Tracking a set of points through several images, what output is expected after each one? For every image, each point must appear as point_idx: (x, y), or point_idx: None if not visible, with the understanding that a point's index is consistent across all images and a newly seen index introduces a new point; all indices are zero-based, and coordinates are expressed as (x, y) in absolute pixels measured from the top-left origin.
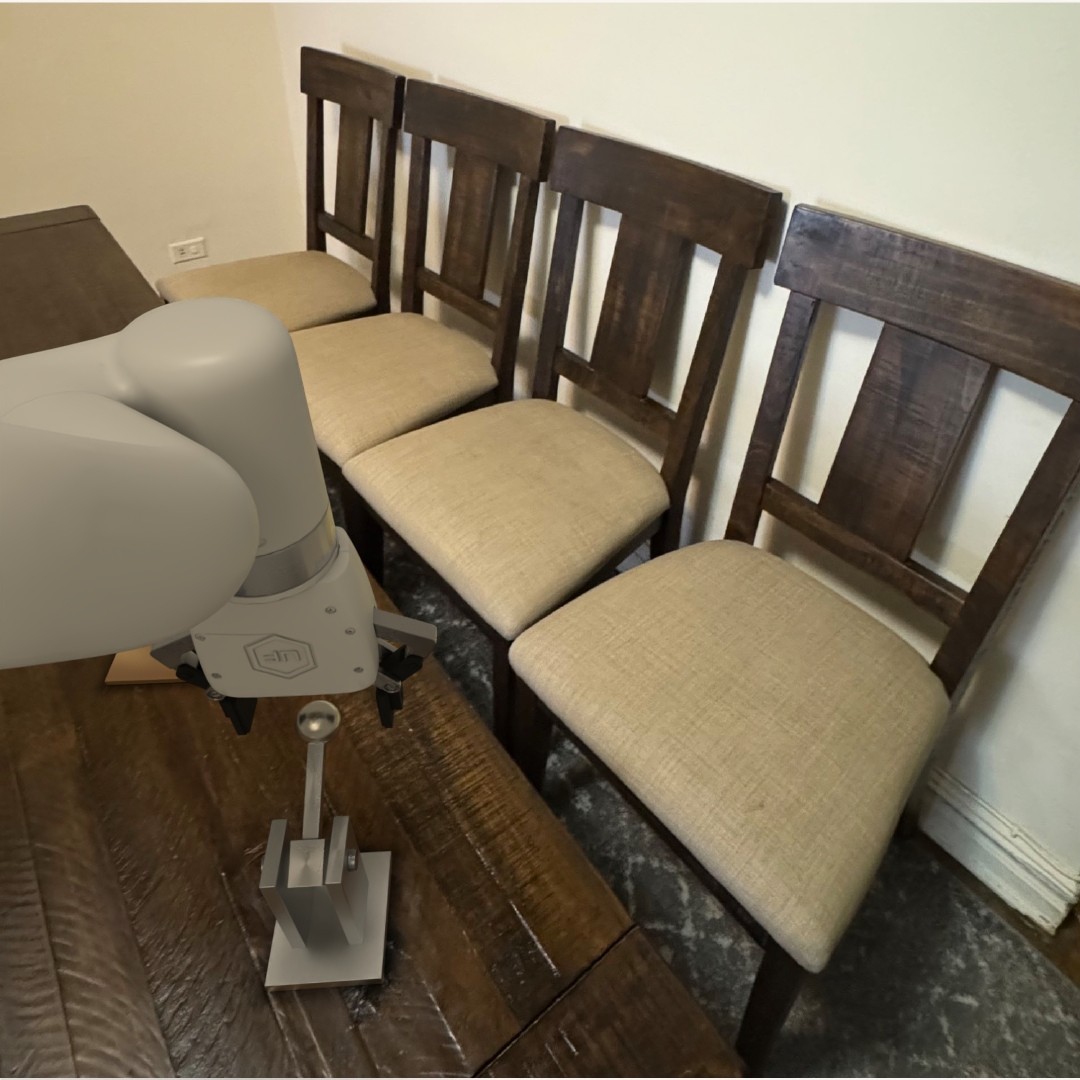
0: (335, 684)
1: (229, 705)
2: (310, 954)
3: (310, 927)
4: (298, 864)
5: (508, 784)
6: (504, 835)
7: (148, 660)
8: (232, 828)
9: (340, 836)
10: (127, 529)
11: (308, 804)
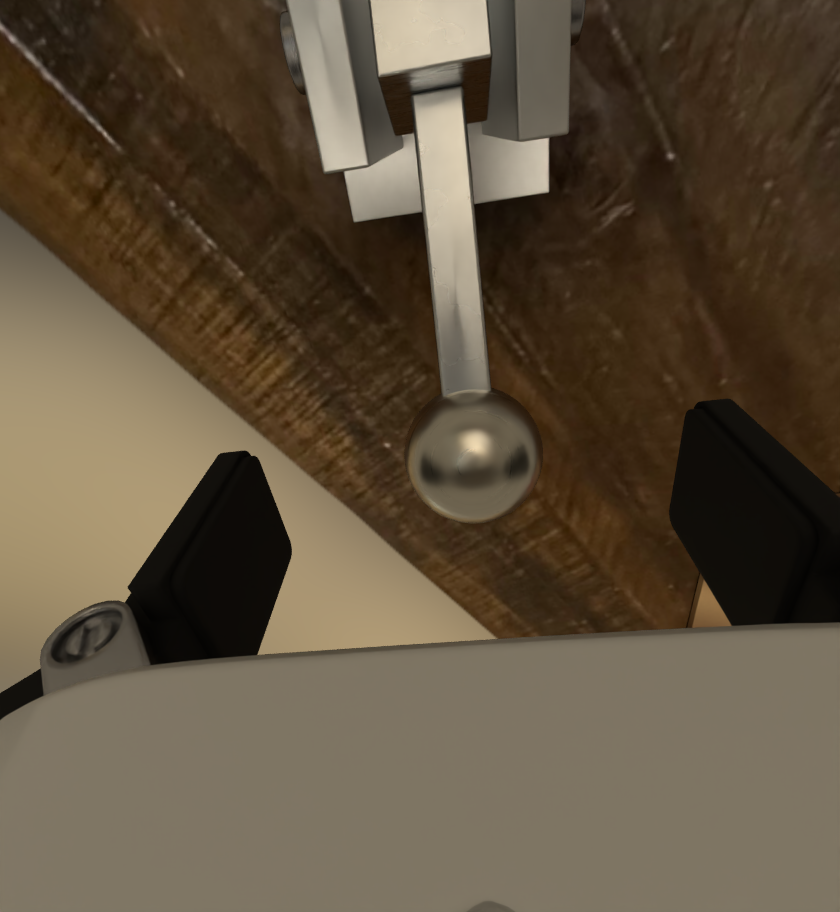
0: (142, 777)
1: (833, 519)
2: None
3: None
4: None
5: (203, 367)
6: (177, 277)
7: None
8: (662, 251)
9: (324, 87)
10: None
11: (459, 201)
